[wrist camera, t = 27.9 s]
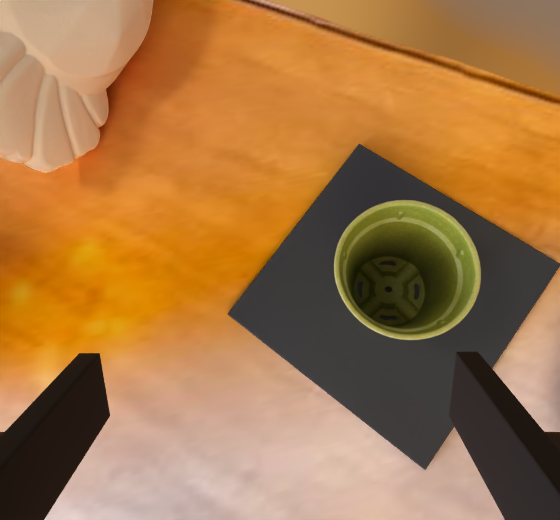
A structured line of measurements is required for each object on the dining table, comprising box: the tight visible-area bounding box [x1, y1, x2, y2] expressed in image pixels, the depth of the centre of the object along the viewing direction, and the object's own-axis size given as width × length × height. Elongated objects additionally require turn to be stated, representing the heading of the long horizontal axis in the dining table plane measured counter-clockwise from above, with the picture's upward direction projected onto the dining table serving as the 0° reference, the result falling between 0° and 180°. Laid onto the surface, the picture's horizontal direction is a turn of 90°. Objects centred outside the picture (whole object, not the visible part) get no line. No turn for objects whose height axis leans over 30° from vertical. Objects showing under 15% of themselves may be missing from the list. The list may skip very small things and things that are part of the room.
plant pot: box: [334, 200, 481, 340], centre depth 32 cm, size 9×9×9 cm
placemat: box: [228, 144, 560, 469], centre depth 36 cm, size 20×20×1 cm
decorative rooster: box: [0, 0, 153, 173], centre depth 36 cm, size 25×16×25 cm
